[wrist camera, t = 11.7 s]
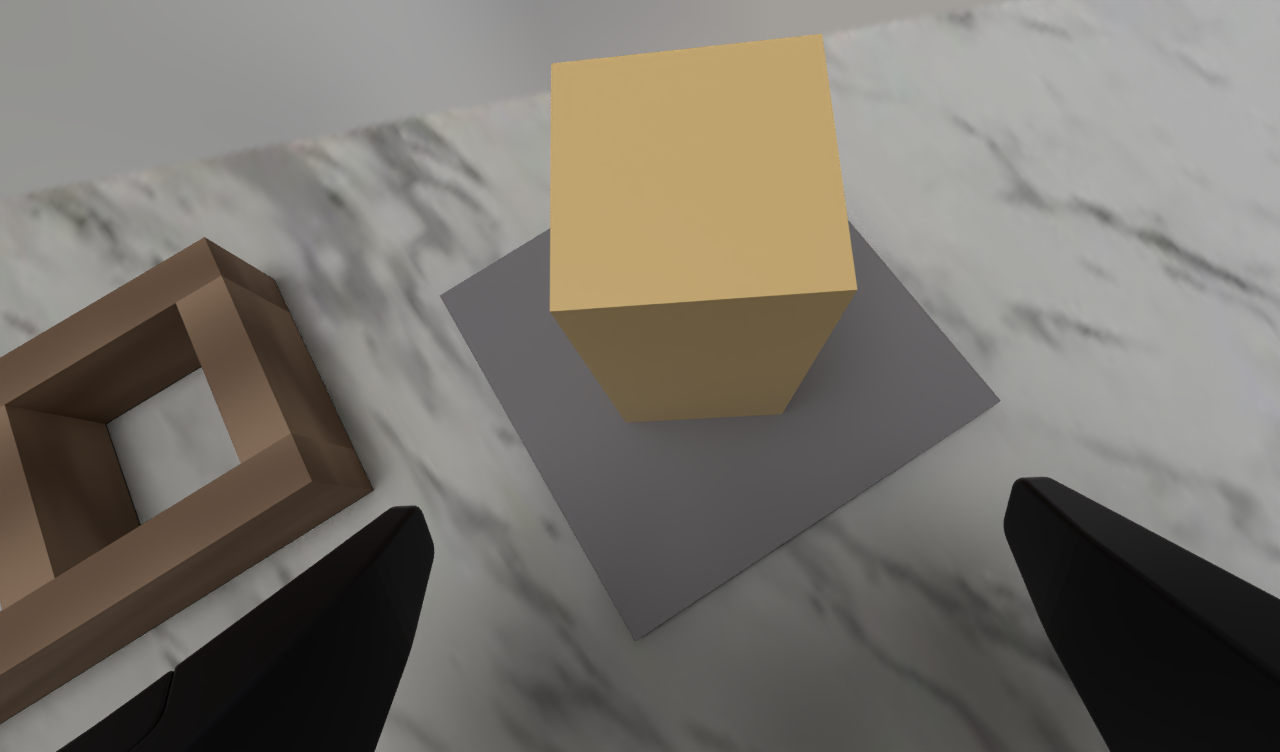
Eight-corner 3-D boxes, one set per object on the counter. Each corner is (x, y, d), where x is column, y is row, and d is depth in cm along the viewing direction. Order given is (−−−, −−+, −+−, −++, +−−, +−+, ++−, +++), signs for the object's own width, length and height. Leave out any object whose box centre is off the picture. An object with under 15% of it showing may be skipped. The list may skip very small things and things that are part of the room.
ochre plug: (781, 414, 17) (857, 289, 9) (626, 422, 18) (550, 311, 9) (767, 270, 18) (822, 34, 10) (621, 281, 19) (551, 63, 10)
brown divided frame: (373, 490, 19) (311, 481, 16) (-164, 826, 18) (-334, 882, 15) (273, 278, 21) (204, 237, 18) (-206, 565, 20) (-359, 570, 17)
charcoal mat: (992, 404, 17) (1000, 400, 17) (637, 638, 17) (635, 641, 16) (750, 115, 21) (751, 105, 20) (446, 301, 20) (439, 295, 19)
